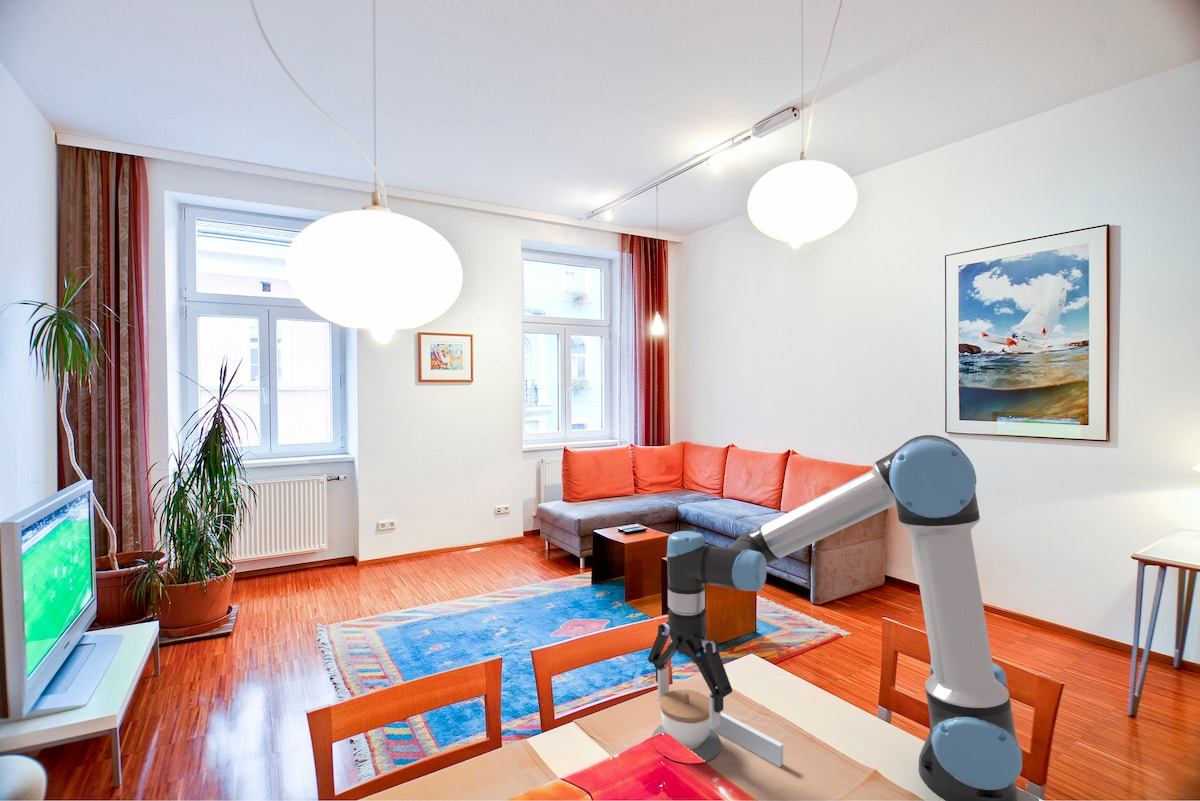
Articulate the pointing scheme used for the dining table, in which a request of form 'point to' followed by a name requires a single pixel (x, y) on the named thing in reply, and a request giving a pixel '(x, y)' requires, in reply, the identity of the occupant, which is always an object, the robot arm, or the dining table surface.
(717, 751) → the gray round disc
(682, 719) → the lidded jar
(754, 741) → the low wall
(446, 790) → the dining table surface
